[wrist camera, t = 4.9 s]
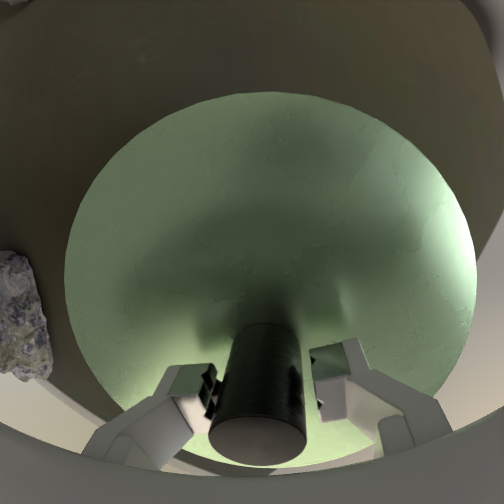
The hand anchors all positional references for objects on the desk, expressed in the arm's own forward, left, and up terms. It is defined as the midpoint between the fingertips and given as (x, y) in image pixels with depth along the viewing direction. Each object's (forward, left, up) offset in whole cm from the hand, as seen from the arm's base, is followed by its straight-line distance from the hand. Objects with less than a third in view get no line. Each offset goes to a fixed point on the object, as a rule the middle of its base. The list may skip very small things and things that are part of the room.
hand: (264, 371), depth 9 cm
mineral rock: (+26, 0, -11) cm, 28 cm away
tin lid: (0, 0, -2) cm, 2 cm away
